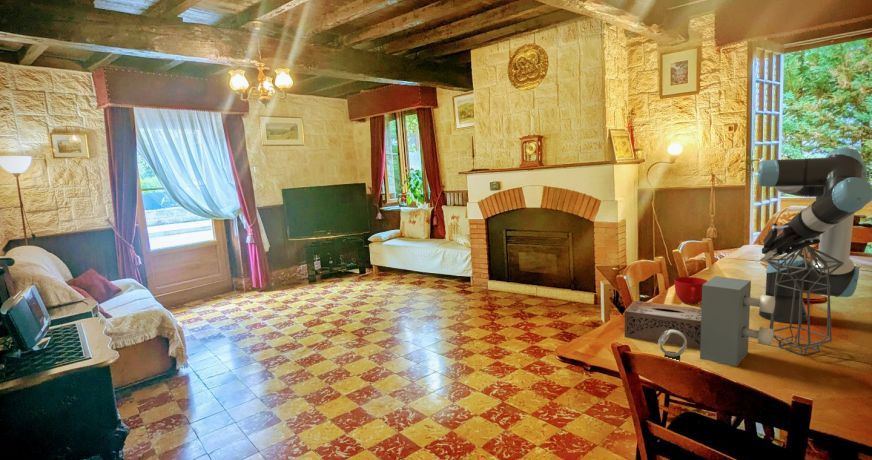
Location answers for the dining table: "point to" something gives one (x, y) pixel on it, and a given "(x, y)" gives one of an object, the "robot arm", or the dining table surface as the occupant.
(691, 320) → the tissue box cover
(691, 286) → the ceramic cup
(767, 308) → the upper knob
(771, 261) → the geometric lantern
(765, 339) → the lower knob
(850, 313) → the dining table surface
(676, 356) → the watch
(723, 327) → the knob mount
